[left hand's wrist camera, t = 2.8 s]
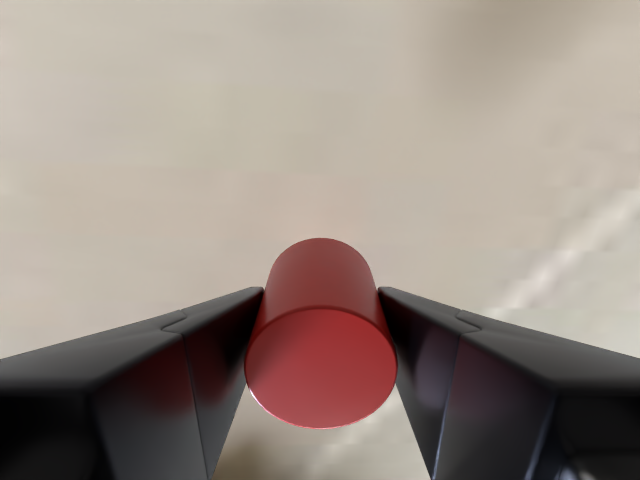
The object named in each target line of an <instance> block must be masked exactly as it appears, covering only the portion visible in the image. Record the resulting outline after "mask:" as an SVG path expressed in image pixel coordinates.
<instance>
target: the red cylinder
mask: <svg viewBox="0 0 640 480" xmlns="http://www.w3.org/2000/svg"><path fill="white" fill-rule="evenodd" d="M397 373H398V359H397V353H396V350H395V347H394V344H393V341H392V337H391V334H390V331H389V328H388V325H387V321H386V318H385V315H384V312H383V309H382V306H381V302H380V299H379V296H378V293H377V290H376V286H375V283H374V280H373V277H372V274H371V271H370V268H369V266H368V264H367V262H366V261H365V259H364V258H363V257H362V256H361V254H360V253H359V252H358V251H356V250H355V249H354V248H352V247H351V246H349V245H347V244H345V243H343V242H341V241H337V240H334V239H328V238H313V239H308V240H304V241H301V242H298V243H296V244H294V245H292V246H291V247H289V248H288V249H286V250H285V251H284V252H283V253H282V254H281V255H280V256H279V257H278V258H277V259H276V261H275V263H274V264H273V266H272V269H271V271H270V274H269V278H268V281H267V284H266V287H265V291H264V294H263V297H262V301H261V304H260V307H259V310H258V314H257V317H256V320H255V324H254V327H253V330H252V333H251V337H250V340H249V343H248V346H247V350H246V353H245V358H244V374H245V379H246V383H247V385H248V388H249V390H250V392H251V394H252V395H253V397H254V398H255V400H256V401H257V402H258V403H259V404H260V405H261V406H262V407H263V408H264V409H265V410H266V411H267V412H269V413H270V414H271V415H273V416H275V417H276V418H278V419H280V420H282V421H284V422H286V423H289V424H292V425H295V426H299V427H304V428H311V429H330V428H337V427H342V426H346V425H350V424H352V423H355V422H358V421H360V420H362V419H364V418H366V417H367V416H369V415H370V414H372V413H373V412H374V411H376V410H377V409H378V408H379V407H380V406H381V405H382V404H383V403H384V402H385V401H386V399H387V398H388V396H389V395H390V393H391V391H392V389H393V387H394V385H395V382H396V378H397Z"/></svg>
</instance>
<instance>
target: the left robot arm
mask: <svg viewBox="0 0 640 480" xmlns="http://www.w3.org/2000/svg"><path fill="white" fill-rule="evenodd" d="M377 293H378V296H379V299H380V302H381V306H382V309H383V312H384V315H385V318H386V321H387V325H388V328H389V331H390V334H391V337H392V341H393V344H394V347H395V350H396V353H397V359H398V373H397V378H396V382H395V383H396V386H397V389H398V391H399V394H400V397H401V399H402V402H403V405H404V408H405V410H406V413H407V416H408V418H409V421H410V424H411V427H412V429H413V432H414V435H415V437H416V440H417V443H418V446H419V448H420V451H421V454H422V457H423V459H424V462H425V465H426V467H427V470H428V473H429V476H430V478H431V480H640V358H636V357H632V356H629V355H625V354H621V353H618V352H614V351H610V350H606V349H603V348H599V347H595V346H591V345H588V344H584V343H580V342H577V341H573V340H569V339H565V338H562V337H558V336H554V335H551V334H547V333H543V332H539V331H536V330H532V329H528V328H524V327H521V326H517V325H513V324H510V323H506V322H502V321H499V320H495V319H492V318H488V317H485V316H481V315H478V314H475V313H472V312H468V311H465V310H460V309H458V308H454V307H451V306H448V305H445V304H442V303H439V302H436V301H432V300H429V299H426V298H423V297H420V296H417V295H414V294H411V293H407V292H404V291H401V290H398V289H395V288H392V287H379V288H378V290H377ZM263 294H264V289H263V287H250V288H246V289H243V290H240V291H237V292H234V293H231V294H228V295H225V296H222V297H219V298H215V299H212V300H209V301H206V302H203V303H200V304H197V305H194V306H191V307H188V308H184V309H182V310H177V311H174V312H171V313H167V314H164V315H161V316H157V317H154V318H151V319H147V320H144V321H140V322H136V323H133V324H129V325H125V326H122V327H118V328H114V329H111V330H107V331H103V332H99V333H96V334H92V335H88V336H85V337H81V338H77V339H74V340H70V341H66V342H63V343H59V344H55V345H51V346H48V347H44V348H40V349H37V350H33V351H29V352H26V353H22V354H18V355H15V356H11V357H7V358H3V359H0V480H211V479H212V476H213V473H214V470H215V468H216V465H217V462H218V459H219V457H220V454H221V451H222V448H223V446H224V443H225V440H226V437H227V434H228V432H229V429H230V426H231V423H232V421H233V418H234V415H235V412H236V410H237V407H238V404H239V401H240V399H241V396H242V393H243V390H244V388H245V385H246V379H245V374H244V358H245V353H246V350H247V346H248V343H249V340H250V337H251V333H252V330H253V327H254V324H255V320H256V317H257V314H258V310H259V307H260V304H261V301H262V297H263Z"/></svg>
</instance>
